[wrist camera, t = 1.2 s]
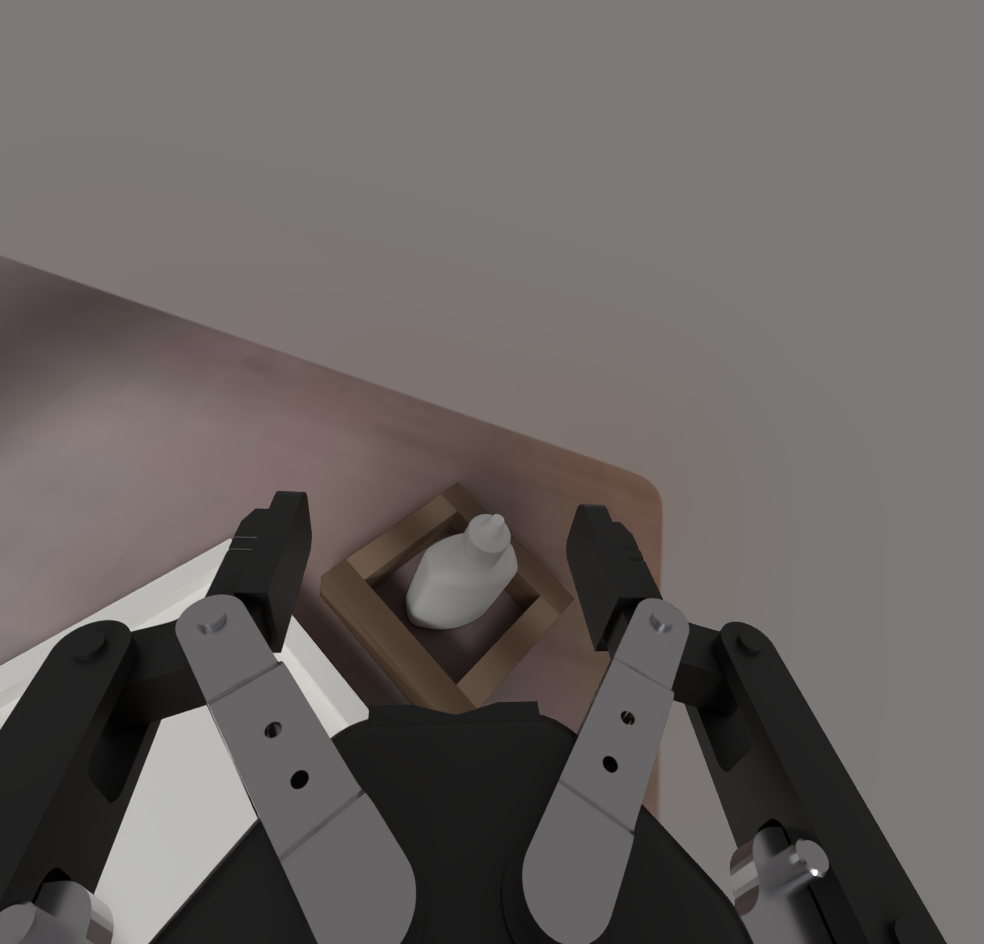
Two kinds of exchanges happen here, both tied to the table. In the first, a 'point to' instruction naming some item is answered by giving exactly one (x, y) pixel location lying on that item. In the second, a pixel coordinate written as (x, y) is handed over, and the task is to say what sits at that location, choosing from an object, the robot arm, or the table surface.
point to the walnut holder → (393, 641)
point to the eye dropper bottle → (462, 575)
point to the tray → (183, 762)
